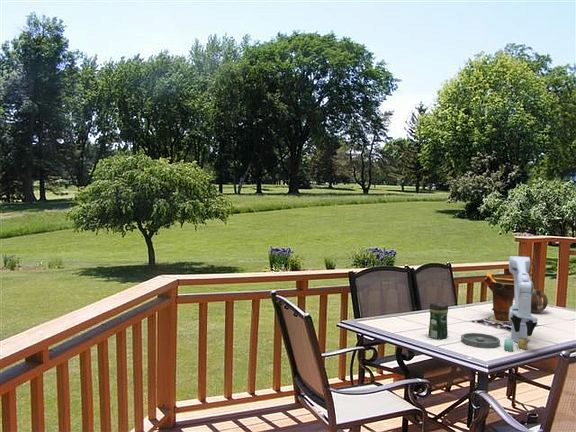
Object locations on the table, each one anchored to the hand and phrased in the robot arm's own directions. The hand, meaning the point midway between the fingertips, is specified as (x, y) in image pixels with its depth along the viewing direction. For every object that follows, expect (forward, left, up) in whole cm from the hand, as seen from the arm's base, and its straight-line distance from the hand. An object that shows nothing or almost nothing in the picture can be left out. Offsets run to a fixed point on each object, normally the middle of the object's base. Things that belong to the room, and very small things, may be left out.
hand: (523, 333), depth 260 cm
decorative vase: (-53, -28, -8) cm, 61 cm away
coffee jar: (+11, -39, -8) cm, 41 cm away
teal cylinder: (+8, -4, -7) cm, 12 cm away
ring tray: (+5, -19, -7) cm, 21 cm away
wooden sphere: (-88, -20, -8) cm, 91 cm away
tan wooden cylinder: (0, 0, -7) cm, 7 cm away
